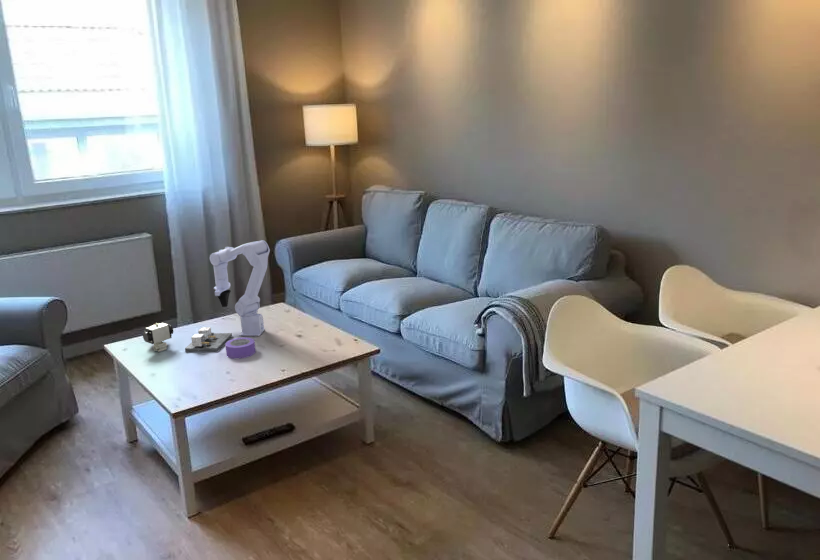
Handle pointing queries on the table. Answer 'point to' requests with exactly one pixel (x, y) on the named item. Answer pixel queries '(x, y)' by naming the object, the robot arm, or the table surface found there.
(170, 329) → the pneumatic valve
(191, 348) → the bolt plate
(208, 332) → the sliding block
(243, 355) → the tape roll
